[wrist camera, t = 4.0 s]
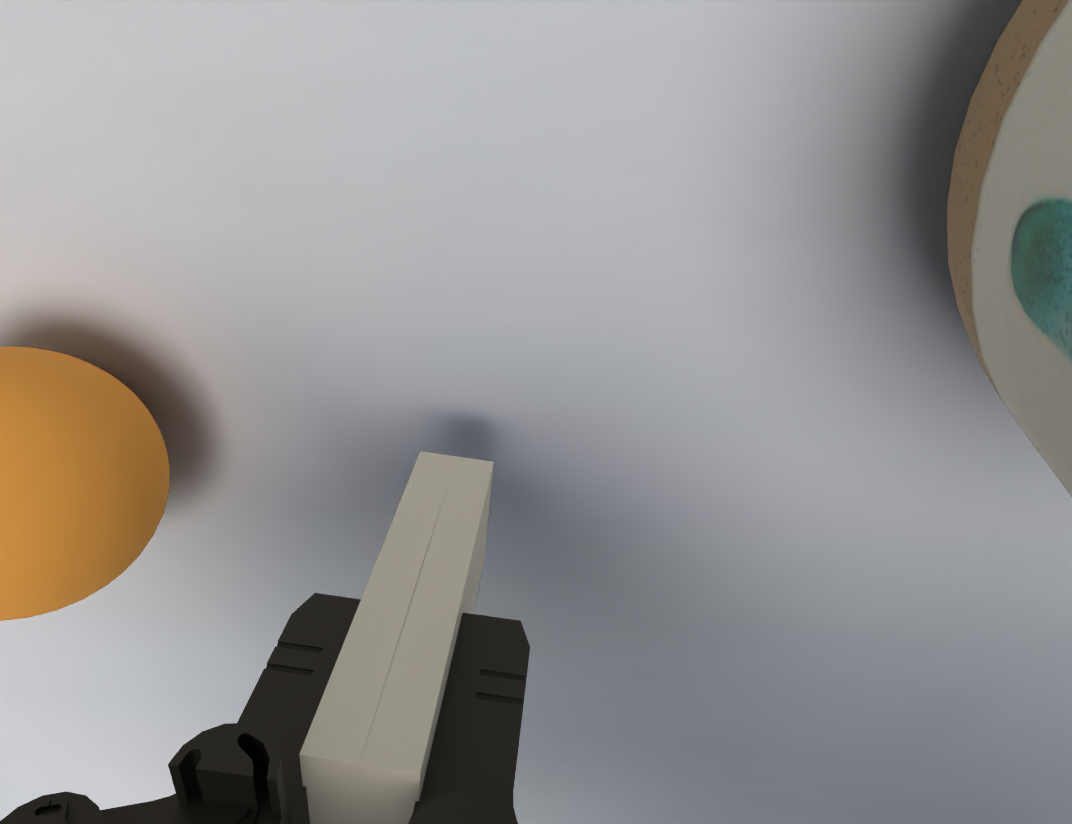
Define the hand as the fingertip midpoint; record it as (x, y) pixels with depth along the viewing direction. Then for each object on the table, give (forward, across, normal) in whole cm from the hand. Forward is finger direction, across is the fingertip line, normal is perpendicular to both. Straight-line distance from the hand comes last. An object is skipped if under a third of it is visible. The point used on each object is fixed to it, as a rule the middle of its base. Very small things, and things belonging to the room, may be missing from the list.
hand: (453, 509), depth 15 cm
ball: (-1, +9, 0) cm, 9 cm away
